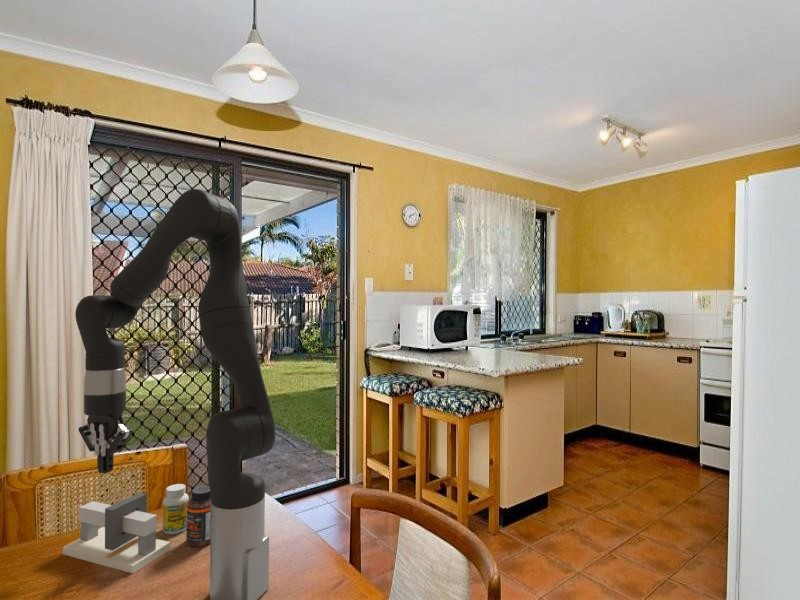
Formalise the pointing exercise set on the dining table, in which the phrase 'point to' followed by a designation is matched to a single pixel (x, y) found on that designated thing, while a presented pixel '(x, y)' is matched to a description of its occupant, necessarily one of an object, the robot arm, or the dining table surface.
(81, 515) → the white bar stand
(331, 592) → the dining table surface
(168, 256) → the robot arm
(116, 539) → the collar
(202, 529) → the supplement bottle
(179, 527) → the supplement bottle
